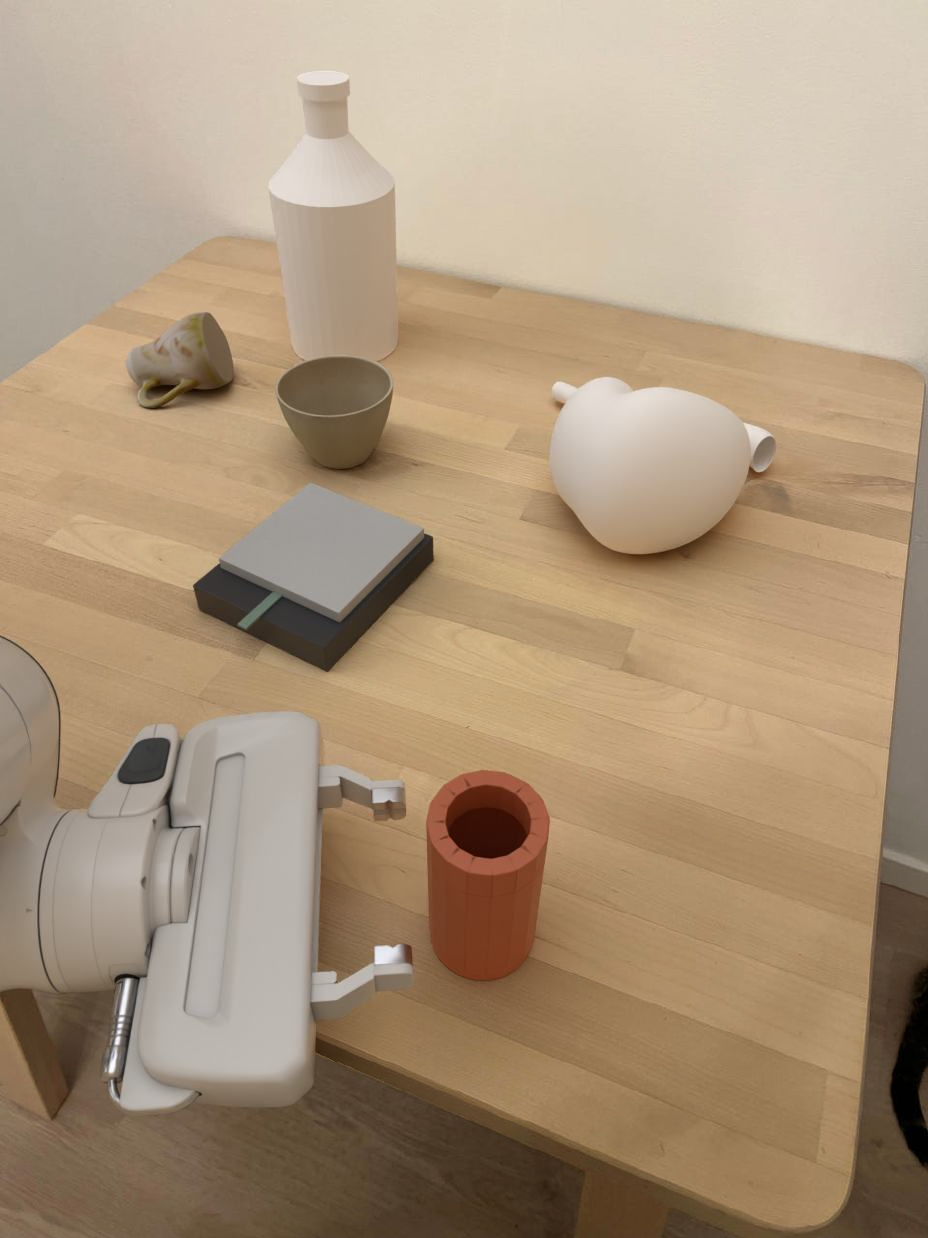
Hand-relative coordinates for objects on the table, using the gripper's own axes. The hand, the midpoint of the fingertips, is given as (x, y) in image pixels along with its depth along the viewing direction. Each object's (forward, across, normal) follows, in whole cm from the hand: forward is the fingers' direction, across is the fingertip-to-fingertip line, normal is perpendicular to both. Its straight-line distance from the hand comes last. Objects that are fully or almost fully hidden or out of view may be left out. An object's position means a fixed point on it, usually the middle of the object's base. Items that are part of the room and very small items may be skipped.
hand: (409, 876), depth 48 cm
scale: (-6, +29, +6) cm, 30 cm away
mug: (-20, +59, +6) cm, 63 cm away
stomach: (+20, +40, +6) cm, 45 cm away
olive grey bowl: (-5, +46, +6) cm, 47 cm away
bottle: (-4, +67, +6) cm, 68 cm away
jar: (+4, 0, +6) cm, 7 cm away
